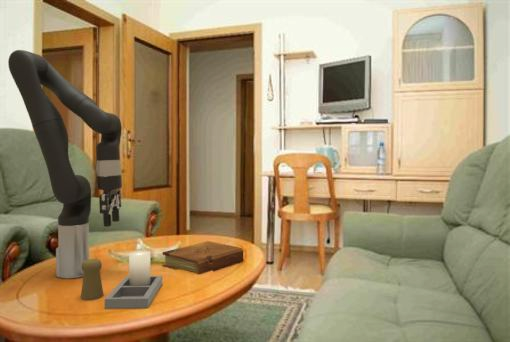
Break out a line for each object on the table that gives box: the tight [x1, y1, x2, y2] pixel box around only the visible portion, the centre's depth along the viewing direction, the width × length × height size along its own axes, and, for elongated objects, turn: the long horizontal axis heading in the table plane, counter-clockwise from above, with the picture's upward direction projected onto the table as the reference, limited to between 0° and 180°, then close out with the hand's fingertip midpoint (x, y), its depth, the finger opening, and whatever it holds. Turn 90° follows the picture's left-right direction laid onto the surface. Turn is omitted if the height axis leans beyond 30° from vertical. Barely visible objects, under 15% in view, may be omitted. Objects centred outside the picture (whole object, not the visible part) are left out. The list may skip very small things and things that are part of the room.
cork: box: [80, 258, 104, 301], centre depth 110 cm, size 6×6×11 cm
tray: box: [104, 275, 163, 310], centre depth 111 cm, size 11×19×3 cm, turn 2°
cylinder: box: [128, 249, 152, 286], centre depth 115 cm, size 6×6×11 cm
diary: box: [162, 240, 244, 275], centre depth 145 cm, size 23×19×6 cm
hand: (111, 223), depth 129 cm, fingers open, 8 cm apart
